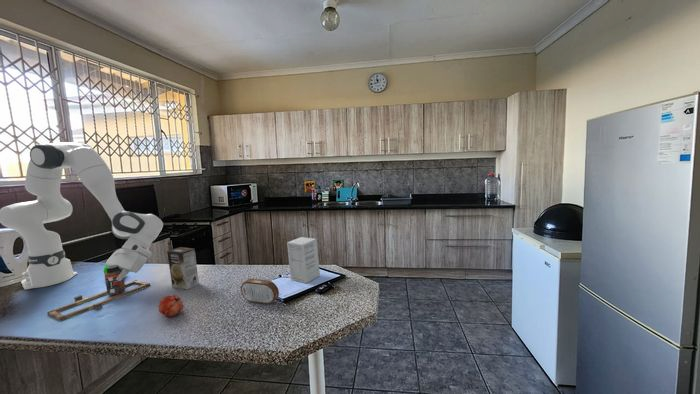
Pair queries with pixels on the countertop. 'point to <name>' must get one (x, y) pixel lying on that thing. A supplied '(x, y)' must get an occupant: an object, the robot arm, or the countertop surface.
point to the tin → (259, 291)
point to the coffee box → (183, 267)
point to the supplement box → (303, 259)
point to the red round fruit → (170, 305)
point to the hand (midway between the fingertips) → (112, 279)
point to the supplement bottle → (111, 283)
